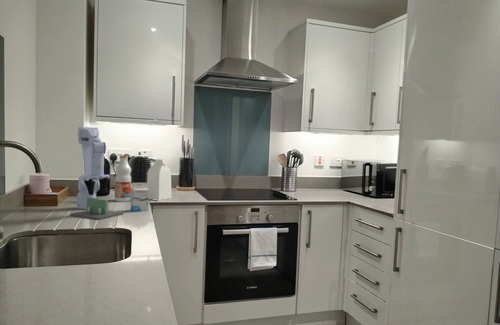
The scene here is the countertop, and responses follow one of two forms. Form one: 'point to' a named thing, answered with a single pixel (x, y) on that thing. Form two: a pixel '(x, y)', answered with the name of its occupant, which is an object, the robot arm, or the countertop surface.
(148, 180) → the milk
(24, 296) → the countertop surface
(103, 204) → the board
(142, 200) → the ink box
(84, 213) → the plate
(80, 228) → the countertop surface
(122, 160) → the fruit juice
